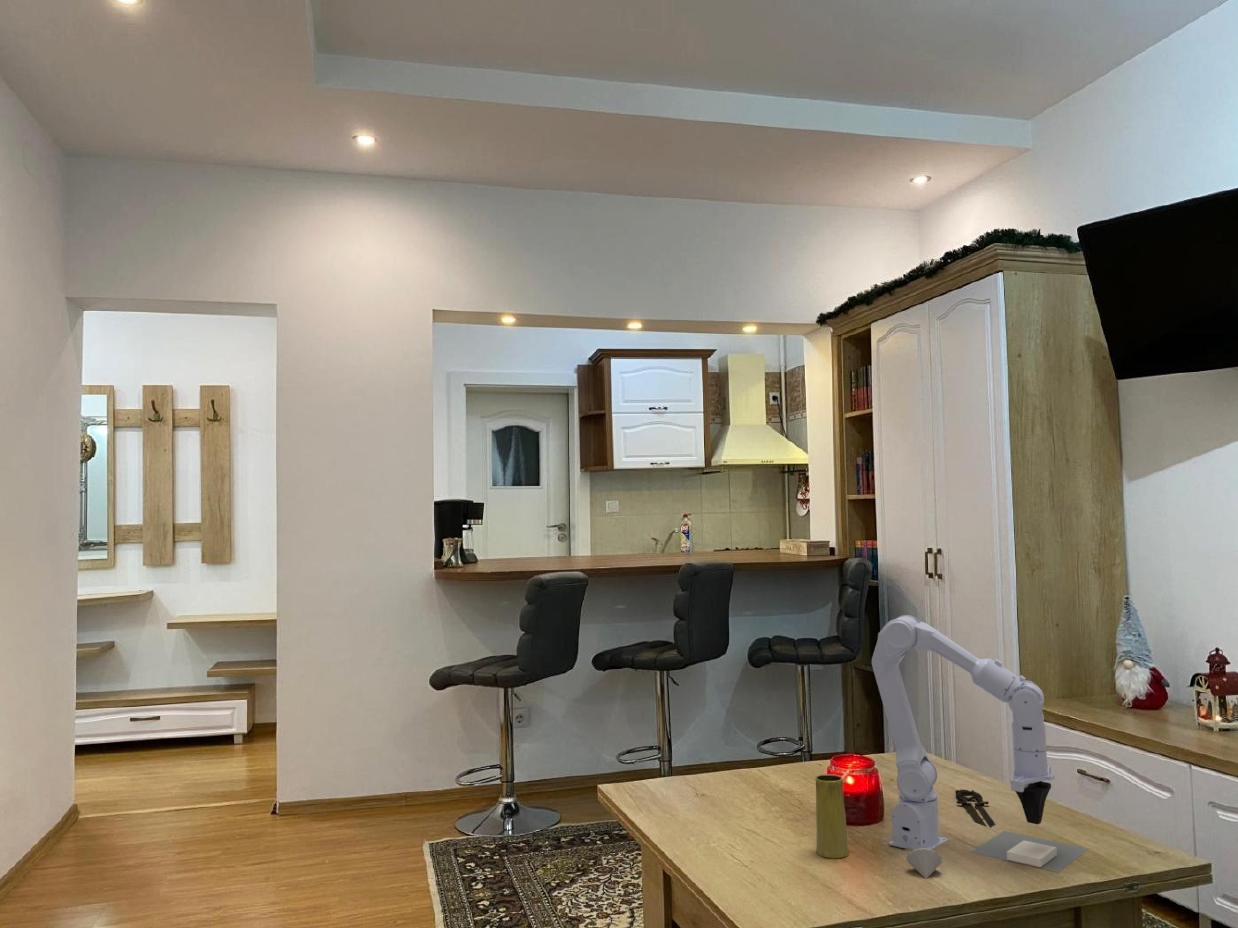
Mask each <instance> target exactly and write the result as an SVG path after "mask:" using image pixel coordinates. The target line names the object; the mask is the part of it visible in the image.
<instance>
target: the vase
mask: <svg viewBox="0 0 1238 928" xmlns="http://www.w3.org/2000/svg"><path fill="white" fill-rule="evenodd" d="M844 801H845V799H844V778H843V777H842V776H841V775H837V774H834V773H833V774H831V773H827V774H825V773H822V774H818V775H816V776H815V807H816V809H815V813H816V815H815V817H816V819H815V822H816V850H815V851H816V854H817V855H819V856H820V857H823V858H826V859H842V858H846V857H848V856H849V853H850V852H849V848H848V832H847V820H846V819H847V817H846V809H845V802H844Z"/></svg>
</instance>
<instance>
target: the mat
mask: <svg viewBox="0 0 1238 928" xmlns="http://www.w3.org/2000/svg"><path fill="white" fill-rule="evenodd" d="M1023 840H1024V841H1029V842H1034V843H1038V844H1043V845H1048V846H1052V847H1057V855H1056V856H1055V857H1054V858H1053V859H1051V860H1050V861H1049V862H1047V863H1046V864H1045V865H1043V866H1042V867H1041V868H1039V867H1034V866H1030V865H1026V864H1021V863H1017V862H1013V861H1009V860H1007V851H1009V850H1010V849H1011V848H1013V847H1014V846H1016V845H1017V844H1019V843H1020V842H1022V841H1023ZM1088 850H1089V848H1088V847H1084V846H1079V845H1074V844H1069V843H1064V842H1059V841H1056V840H1055V841H1054V840H1050V839H1045V838H1041V837H1035V836H1031V835H1026V834H1022V833H1017V832H1012V831H1007V830H1003V831H1001V832H1000V833H998V834H996V835H995V836H994V837H992V838H990V839H988V840H987V841H985V842H984V843H982V844H981V845H979V846H978V847H975V848H974V849H973V850H971V851H970V852H969V853H970V854H975V855H979V856H983V857H988V858H992V859H996V860H1001V861H1006V862H1009V863H1014V864H1018V865H1022V866H1026V867H1032V868H1035V869H1039V870H1044V871H1049V872H1052V873H1057V874H1059V873H1060V872H1061V871H1062V870H1064V869H1065V868H1067V867H1068V866H1069V865H1070V864H1071V863H1073V862H1074V861H1075V860H1077V858H1079V857H1081V855H1083V854H1084V853H1085V852H1087V851H1088Z"/></svg>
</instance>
